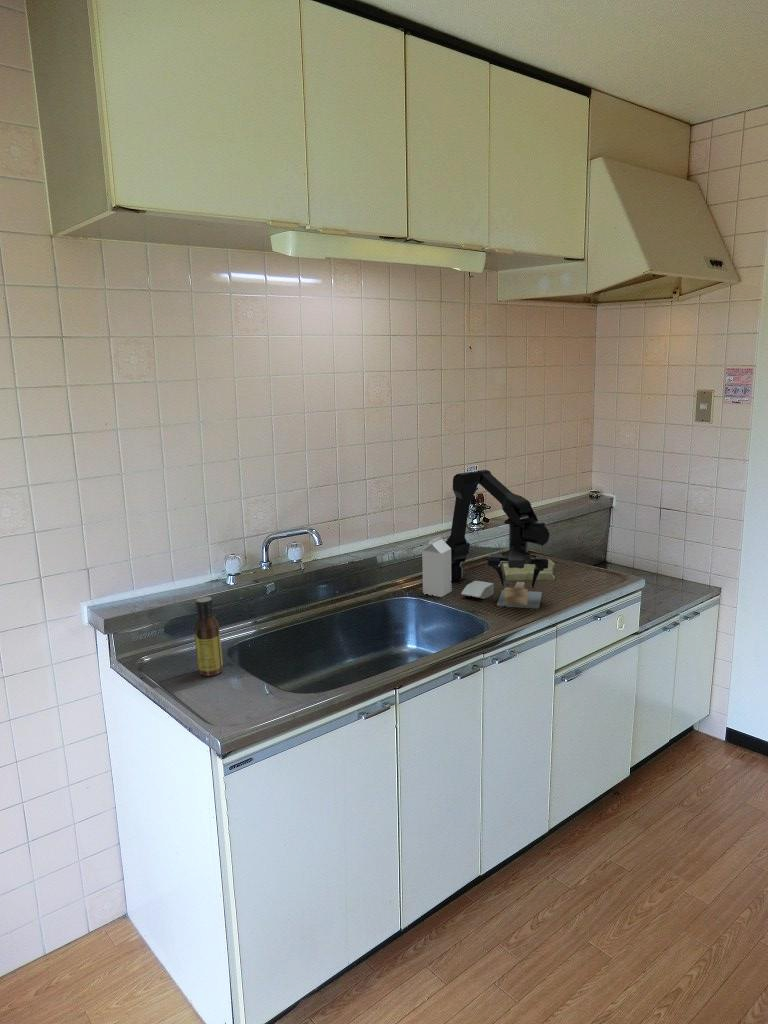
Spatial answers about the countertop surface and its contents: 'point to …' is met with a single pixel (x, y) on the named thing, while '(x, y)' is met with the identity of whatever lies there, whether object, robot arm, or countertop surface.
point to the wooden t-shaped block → (516, 594)
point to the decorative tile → (528, 572)
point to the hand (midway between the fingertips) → (518, 586)
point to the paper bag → (479, 589)
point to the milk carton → (437, 568)
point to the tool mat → (532, 600)
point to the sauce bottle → (207, 639)
